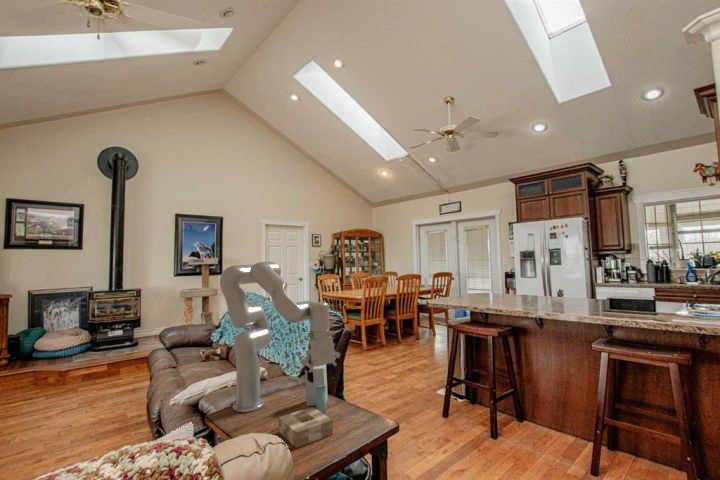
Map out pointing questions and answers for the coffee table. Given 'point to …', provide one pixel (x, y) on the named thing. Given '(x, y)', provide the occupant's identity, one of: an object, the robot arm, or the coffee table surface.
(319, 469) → the coffee table surface
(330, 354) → the robot arm
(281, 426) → the socket block
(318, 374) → the skincare box
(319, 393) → the peg
